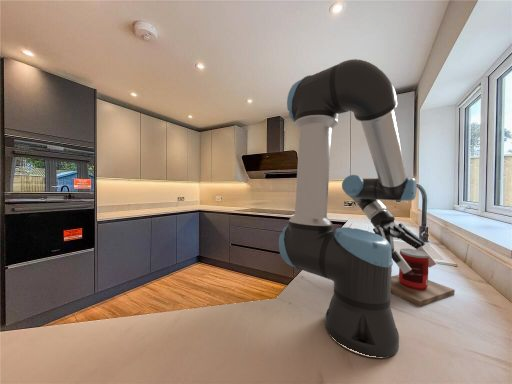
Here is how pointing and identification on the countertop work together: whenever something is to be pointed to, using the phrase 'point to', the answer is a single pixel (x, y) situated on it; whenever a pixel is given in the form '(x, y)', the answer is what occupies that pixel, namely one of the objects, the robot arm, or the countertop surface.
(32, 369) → the countertop surface
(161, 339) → the countertop surface
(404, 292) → the walnut board
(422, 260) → the canned food
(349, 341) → the robot arm
